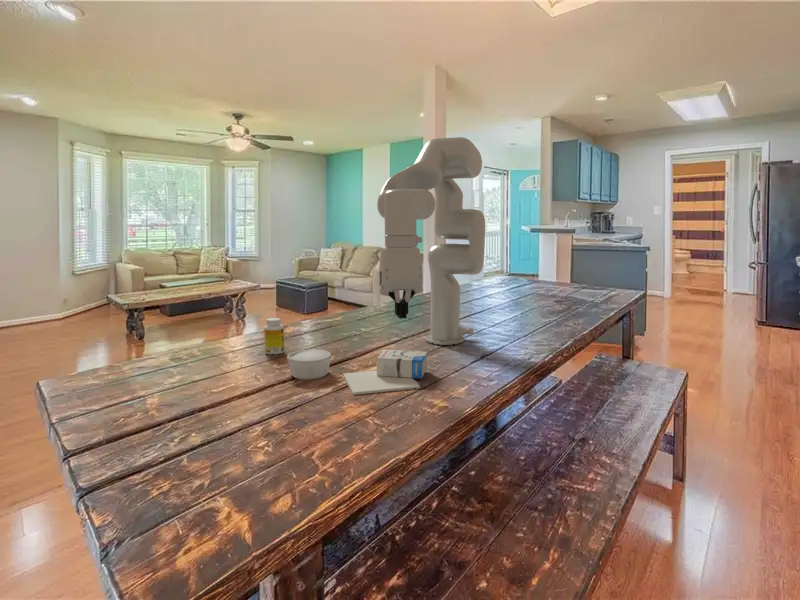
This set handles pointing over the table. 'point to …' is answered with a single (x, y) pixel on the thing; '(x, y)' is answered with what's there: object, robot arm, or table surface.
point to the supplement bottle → (274, 336)
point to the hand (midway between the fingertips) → (401, 317)
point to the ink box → (402, 363)
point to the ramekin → (309, 363)
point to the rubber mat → (377, 382)
